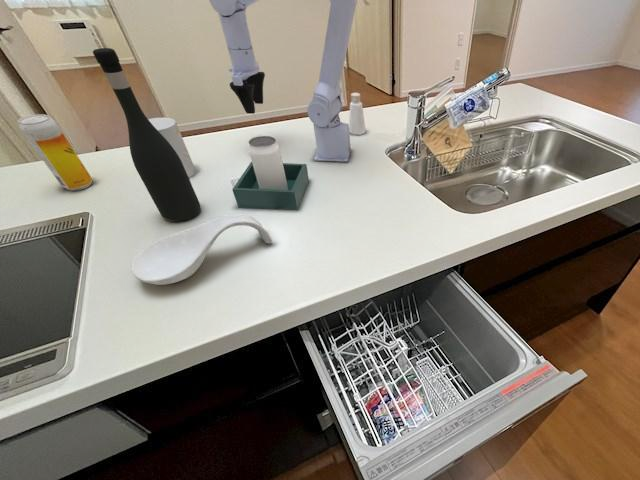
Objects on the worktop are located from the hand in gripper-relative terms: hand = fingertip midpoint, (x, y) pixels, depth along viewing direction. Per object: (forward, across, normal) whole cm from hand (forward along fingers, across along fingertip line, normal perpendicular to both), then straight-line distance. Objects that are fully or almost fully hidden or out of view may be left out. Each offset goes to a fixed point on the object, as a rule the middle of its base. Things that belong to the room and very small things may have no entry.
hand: (255, 108), depth 94 cm
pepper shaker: (+11, -14, +26) cm, 31 cm away
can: (+10, +26, +10) cm, 30 cm away
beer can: (+11, +26, -37) cm, 46 cm away
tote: (+10, +26, +10) cm, 30 cm away
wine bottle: (+11, +36, -8) cm, 38 cm away
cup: (+11, +18, -17) cm, 27 cm away
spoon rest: (+11, +51, +4) cm, 53 cm away
